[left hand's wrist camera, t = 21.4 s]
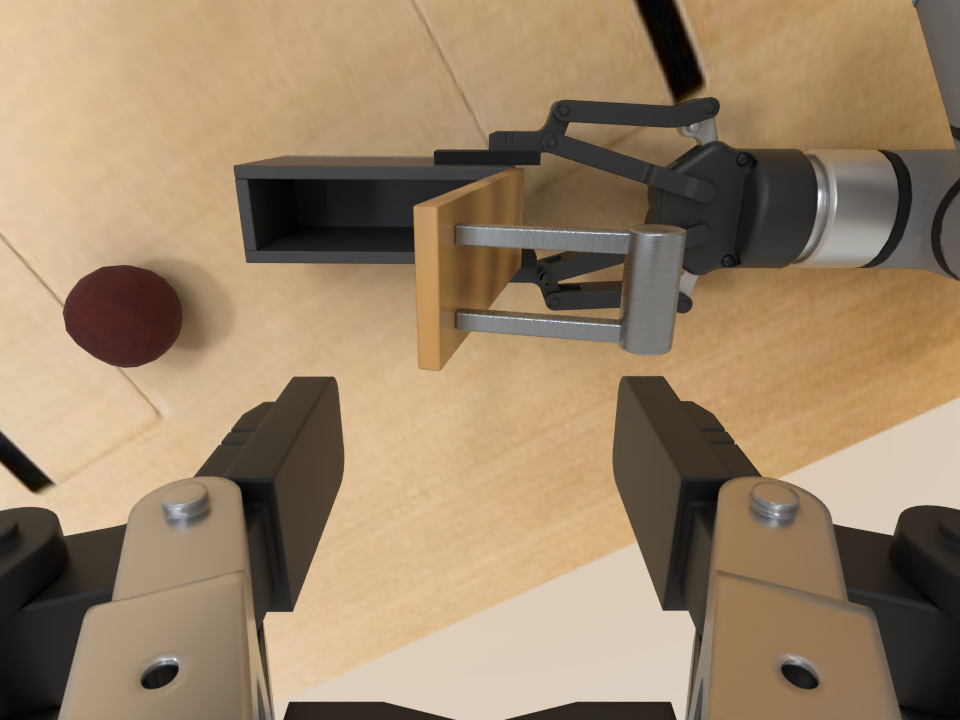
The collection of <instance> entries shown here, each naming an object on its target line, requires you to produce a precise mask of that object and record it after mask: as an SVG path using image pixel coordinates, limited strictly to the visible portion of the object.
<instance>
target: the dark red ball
mask: <svg viewBox="0 0 960 720" xmlns="http://www.w3.org/2000/svg"><path fill="white" fill-rule="evenodd" d="M63 316H64V320H65V326H66V331H67V332H68V333H69V335H70V336H71V337H72V338H73V340H74V341H75V342H76V343H77V344H78V345H79V346H80V347H82V348H83V349H84V350H86V351H87V352H88V353H90V354H91V355H92V356H94V357H95V358H97V359H99V360H101V361H103V362H106V363H108V364H110V365H114V366H119V367H124V368H126V367H138V366H141V365H143V364H146V363H149V362H151V361H154V360H156V359H158V358H159V357H160V356H161V355H163V354H164V353H165V352H166V351H167V350H168V349H169V348H171V346H172V345H173V343H174V342H175V340H176V339H177V337H178V335H179V334H180V330H181V325H182V308H181V305H180V301H179V298H178V296H177V294H176V292H175V290H174V289H173V288H172V287H171V286H170V285H169V284H168V282H167V281H166V280H165V279H164V278H162V277H160V276H159V275H157V274H156V273H154V272H152V271H150V270H146V269H142V268H138V267H134V266H128V265H120V266H108V267H102V268H100V269H98V270H96V271H94V272H92V273H90V274H88V275H86V276H85V277H83V278H82V279H80V280H79V282H78V283H77V284H76V285H75V287H74V288H73V289H72V290H71V292H70V293H69V295H68V297H67V299H66V302H65V306H64V310H63Z"/></svg>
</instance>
